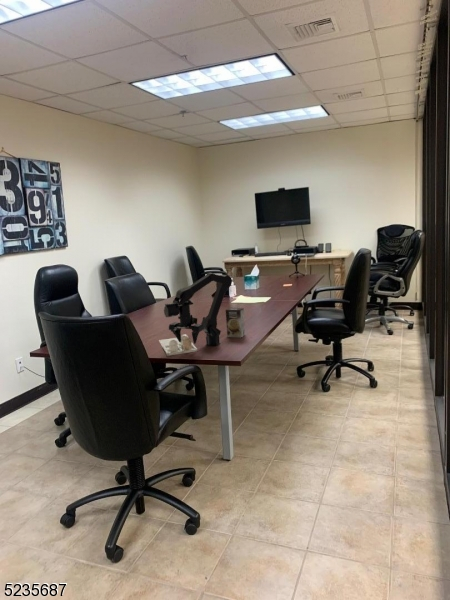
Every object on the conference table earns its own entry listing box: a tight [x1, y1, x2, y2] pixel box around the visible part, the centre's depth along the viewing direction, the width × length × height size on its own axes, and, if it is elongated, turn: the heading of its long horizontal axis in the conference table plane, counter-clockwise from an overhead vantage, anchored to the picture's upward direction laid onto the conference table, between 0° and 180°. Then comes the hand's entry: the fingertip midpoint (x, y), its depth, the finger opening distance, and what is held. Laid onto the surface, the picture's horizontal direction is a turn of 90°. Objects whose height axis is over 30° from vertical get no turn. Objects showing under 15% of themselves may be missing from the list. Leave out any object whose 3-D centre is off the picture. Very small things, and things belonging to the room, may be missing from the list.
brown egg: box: [183, 338, 193, 351], centre depth 235 cm, size 4×4×7 cm
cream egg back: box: [181, 334, 189, 347], centre depth 242 cm, size 4×4×7 cm
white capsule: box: [169, 340, 178, 353], centre depth 233 cm, size 4×4×7 cm
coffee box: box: [225, 307, 246, 338], centre depth 256 cm, size 9×6×16 cm
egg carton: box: [158, 337, 198, 357], centre depth 245 cm, size 32×16×2 cm, turn 16°
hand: (187, 342), depth 235 cm, fingers open, 9 cm apart
